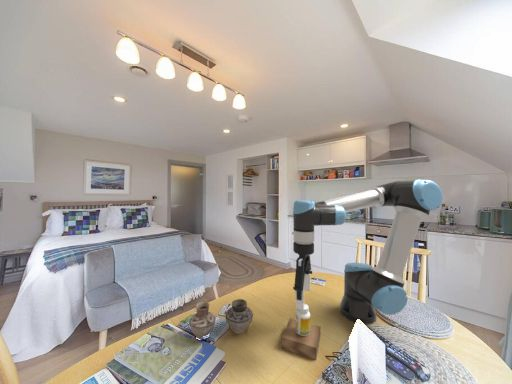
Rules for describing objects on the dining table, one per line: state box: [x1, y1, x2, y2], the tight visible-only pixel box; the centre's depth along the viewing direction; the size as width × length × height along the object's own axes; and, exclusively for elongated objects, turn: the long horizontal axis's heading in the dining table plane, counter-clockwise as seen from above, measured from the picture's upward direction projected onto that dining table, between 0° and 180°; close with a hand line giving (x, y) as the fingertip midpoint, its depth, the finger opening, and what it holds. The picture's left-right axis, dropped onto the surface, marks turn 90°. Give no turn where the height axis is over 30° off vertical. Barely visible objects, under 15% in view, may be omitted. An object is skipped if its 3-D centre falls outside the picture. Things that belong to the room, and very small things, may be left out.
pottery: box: [188, 298, 254, 339], centre depth 81 cm, size 11×25×12 cm, turn 108°
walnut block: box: [281, 318, 322, 360], centre depth 76 cm, size 12×12×4 cm
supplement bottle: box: [295, 303, 311, 336], centre depth 76 cm, size 5×5×10 cm
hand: (303, 298), depth 76 cm, fingers open, 13 cm apart
